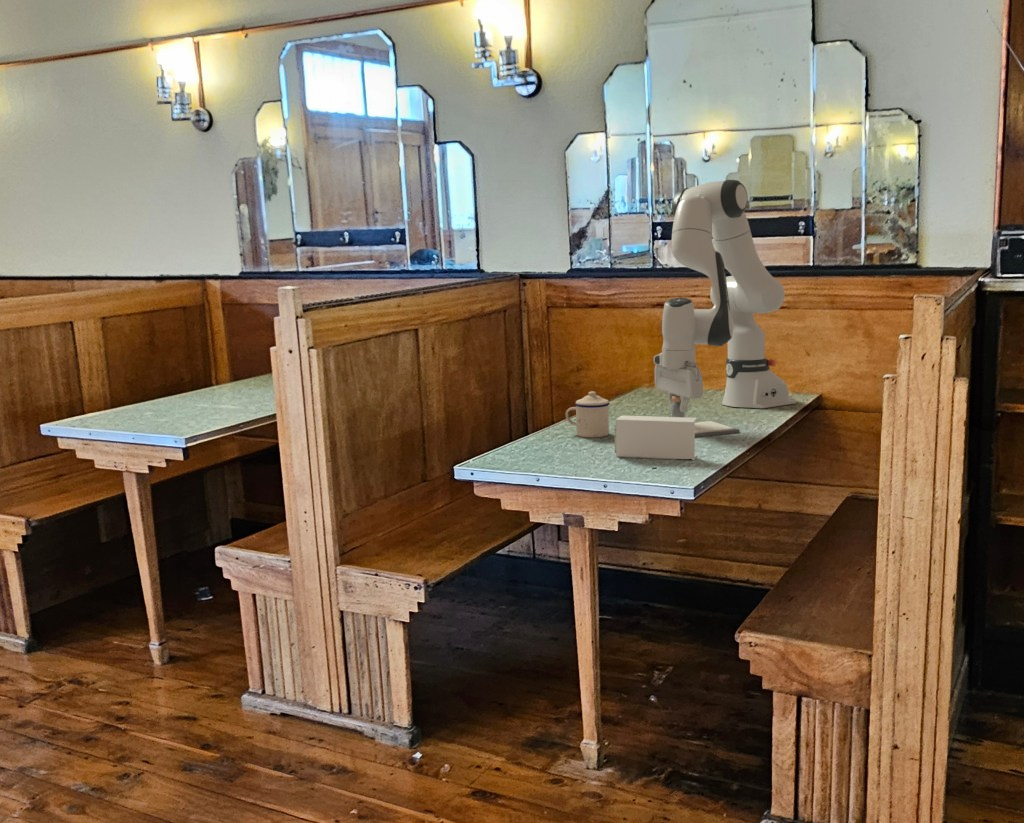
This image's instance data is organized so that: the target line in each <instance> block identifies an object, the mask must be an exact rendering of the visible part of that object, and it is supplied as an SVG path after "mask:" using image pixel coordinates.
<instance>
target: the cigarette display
mask: <svg viewBox="0 0 1024 823" xmlns="http://www.w3.org/2000/svg"><path fill="white" fill-rule="evenodd" d="M697 421H698V418H697V417H686V416H685V417H672V416H651V415H650V416H646V415H620V416H619V417H618V418H616V419H615V425H614V426H613V427H614V428H613V429H614V453H615V454H616V458H633V459H634V458H635V459H636V458H637V459H640V458H641V459H654V460H655V459H657V460H676V459H692V460H694V459H696V458H697V457H698V454H696V453H695V451H696V449H695V442H696V440H695V439H696V437H695V423H696V422H697ZM695 457H696V458H695ZM692 460H691V461H692ZM694 461H695V460H694Z"/></svg>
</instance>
